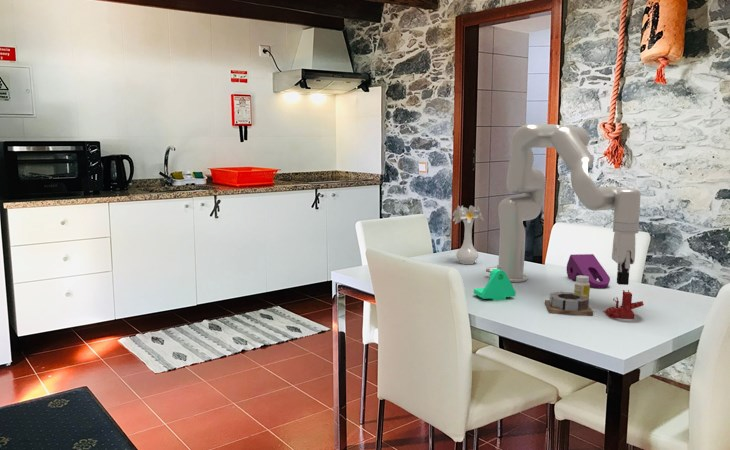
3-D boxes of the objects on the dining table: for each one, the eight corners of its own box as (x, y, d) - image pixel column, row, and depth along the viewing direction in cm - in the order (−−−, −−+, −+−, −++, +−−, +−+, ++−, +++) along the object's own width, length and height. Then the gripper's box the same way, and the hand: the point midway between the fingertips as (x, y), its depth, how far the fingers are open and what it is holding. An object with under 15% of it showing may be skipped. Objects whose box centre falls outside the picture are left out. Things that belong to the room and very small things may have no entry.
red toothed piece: (611, 308, 196) (613, 283, 195) (648, 317, 187) (651, 291, 186) (594, 315, 189) (596, 288, 188) (632, 324, 180) (634, 297, 179)
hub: (552, 309, 190) (553, 298, 189) (547, 300, 201) (548, 289, 200) (590, 311, 188) (591, 300, 187) (583, 301, 199) (584, 290, 198)
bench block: (549, 313, 190) (549, 309, 190) (544, 303, 201) (544, 300, 201) (593, 315, 188) (593, 311, 188) (585, 305, 199) (586, 302, 199)
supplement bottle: (588, 300, 206) (590, 275, 205) (588, 303, 201) (590, 278, 200) (573, 298, 207) (575, 274, 206) (573, 302, 203) (575, 277, 202)
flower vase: (468, 257, 274) (470, 202, 270) (489, 266, 257) (492, 207, 253) (442, 259, 269) (443, 202, 266) (462, 268, 252) (464, 208, 248)
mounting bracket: (607, 301, 226) (587, 271, 241) (614, 284, 222) (593, 254, 236) (583, 302, 225) (564, 271, 240) (590, 284, 220) (570, 254, 235)
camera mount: (503, 293, 214) (505, 264, 212) (515, 299, 206) (516, 269, 205) (472, 296, 210) (473, 266, 208) (483, 301, 203) (484, 271, 201)
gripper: (607, 224, 202) (605, 278, 205) (619, 230, 188) (616, 289, 190) (631, 224, 201) (628, 279, 203) (645, 231, 186) (641, 289, 189)
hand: (622, 283), depth 197 cm, fingers closed
